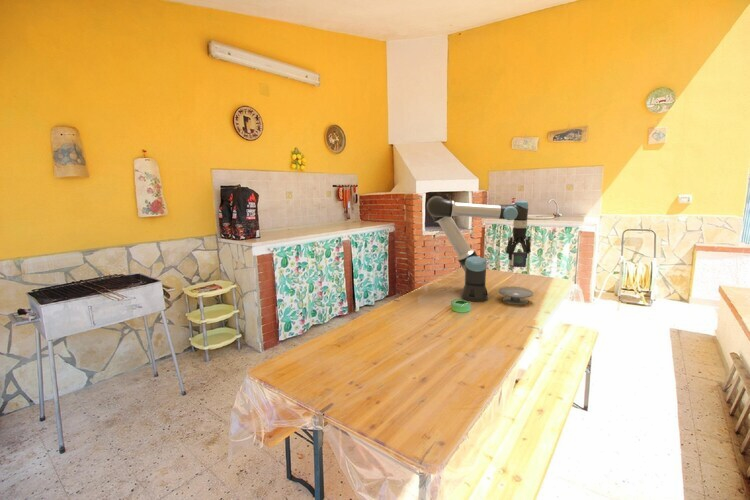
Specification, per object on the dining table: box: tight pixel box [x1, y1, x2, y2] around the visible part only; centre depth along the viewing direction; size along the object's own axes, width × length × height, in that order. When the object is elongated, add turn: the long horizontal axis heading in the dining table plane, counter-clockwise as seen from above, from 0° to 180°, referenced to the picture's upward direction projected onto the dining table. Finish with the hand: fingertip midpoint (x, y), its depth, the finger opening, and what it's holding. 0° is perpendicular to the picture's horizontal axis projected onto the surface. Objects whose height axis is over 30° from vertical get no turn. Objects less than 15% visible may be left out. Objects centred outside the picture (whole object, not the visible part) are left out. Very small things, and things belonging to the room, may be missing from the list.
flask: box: [509, 248, 528, 268], centre depth 215 cm, size 9×3×11 cm, turn 79°
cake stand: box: [498, 286, 534, 306], centre depth 201 cm, size 18×18×6 cm
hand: (517, 264), depth 216 cm, fingers closed on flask, 8 cm apart
